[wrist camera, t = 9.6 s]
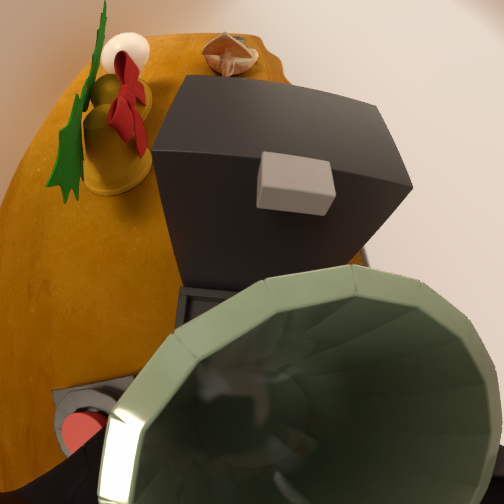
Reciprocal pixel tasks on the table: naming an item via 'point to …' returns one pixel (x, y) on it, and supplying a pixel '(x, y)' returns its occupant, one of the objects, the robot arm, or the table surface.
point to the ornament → (106, 130)
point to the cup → (311, 400)
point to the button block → (87, 401)
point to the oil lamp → (229, 54)
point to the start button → (81, 428)
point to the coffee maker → (269, 183)
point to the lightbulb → (129, 43)
